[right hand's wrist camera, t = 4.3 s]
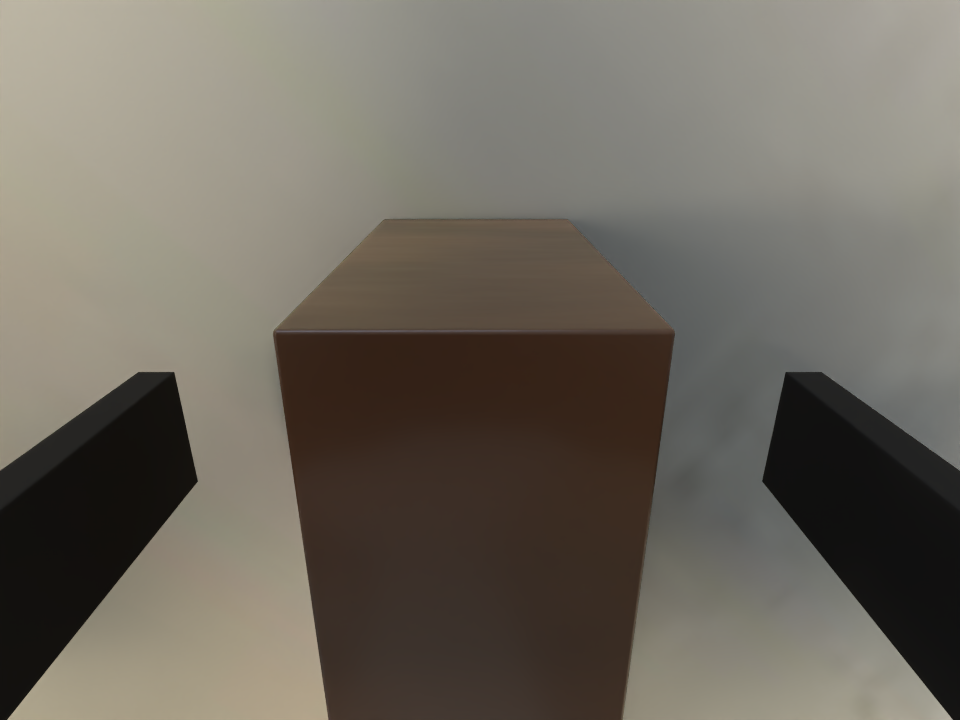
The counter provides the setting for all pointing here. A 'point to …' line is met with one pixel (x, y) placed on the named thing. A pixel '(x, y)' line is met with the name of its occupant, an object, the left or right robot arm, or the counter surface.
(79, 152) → the counter surface
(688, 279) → the counter surface
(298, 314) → the walnut block
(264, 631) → the counter surface
